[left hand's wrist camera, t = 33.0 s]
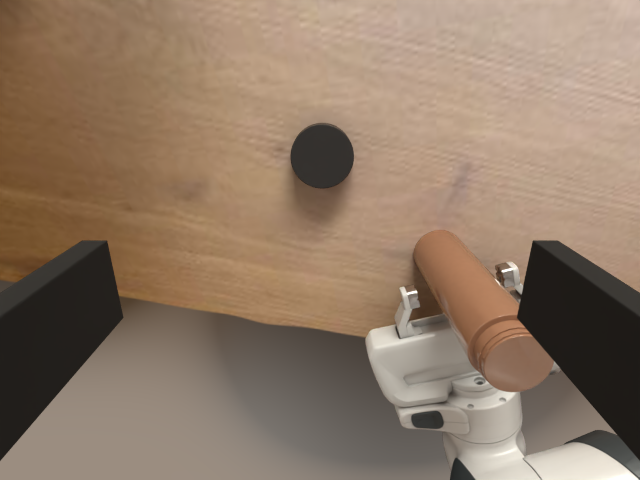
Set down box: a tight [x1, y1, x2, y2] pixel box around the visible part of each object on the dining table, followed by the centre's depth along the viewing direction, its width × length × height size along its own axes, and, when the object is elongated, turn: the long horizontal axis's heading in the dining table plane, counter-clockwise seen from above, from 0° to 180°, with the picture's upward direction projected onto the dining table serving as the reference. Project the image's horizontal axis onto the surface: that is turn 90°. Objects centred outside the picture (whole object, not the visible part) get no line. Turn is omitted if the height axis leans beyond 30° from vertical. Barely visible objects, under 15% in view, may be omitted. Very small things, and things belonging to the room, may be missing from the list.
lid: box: [291, 123, 354, 188], centre depth 39 cm, size 6×6×2 cm
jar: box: [414, 230, 554, 392], centre depth 35 cm, size 5×5×19 cm
